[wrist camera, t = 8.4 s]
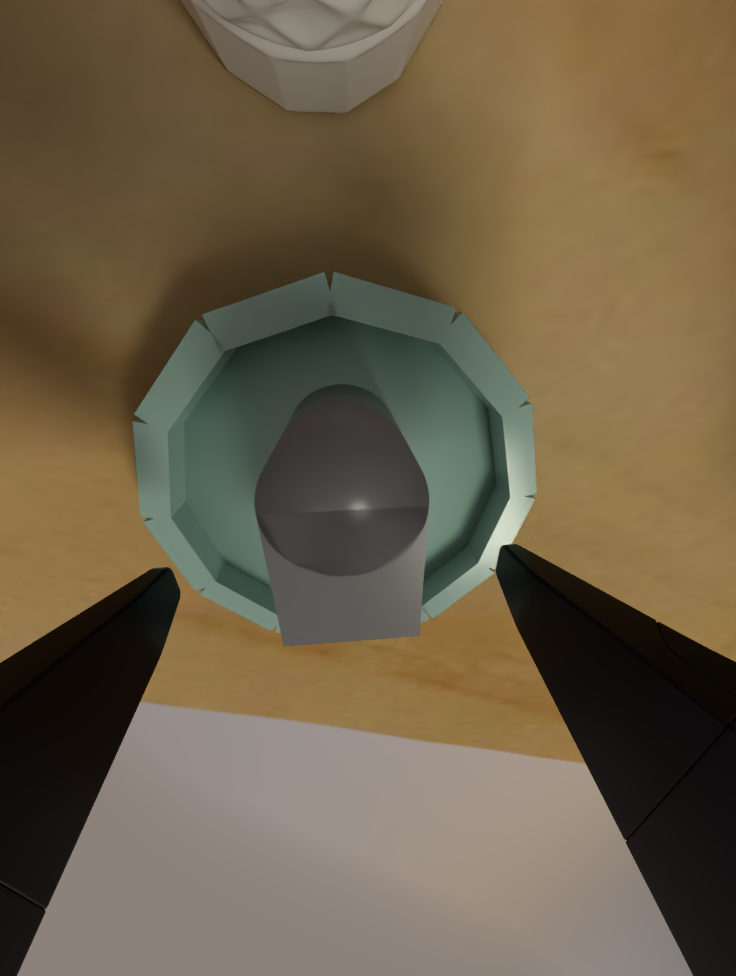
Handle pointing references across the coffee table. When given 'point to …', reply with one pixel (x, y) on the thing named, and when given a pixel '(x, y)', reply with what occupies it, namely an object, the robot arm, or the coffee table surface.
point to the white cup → (314, 46)
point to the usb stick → (343, 522)
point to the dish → (279, 390)
